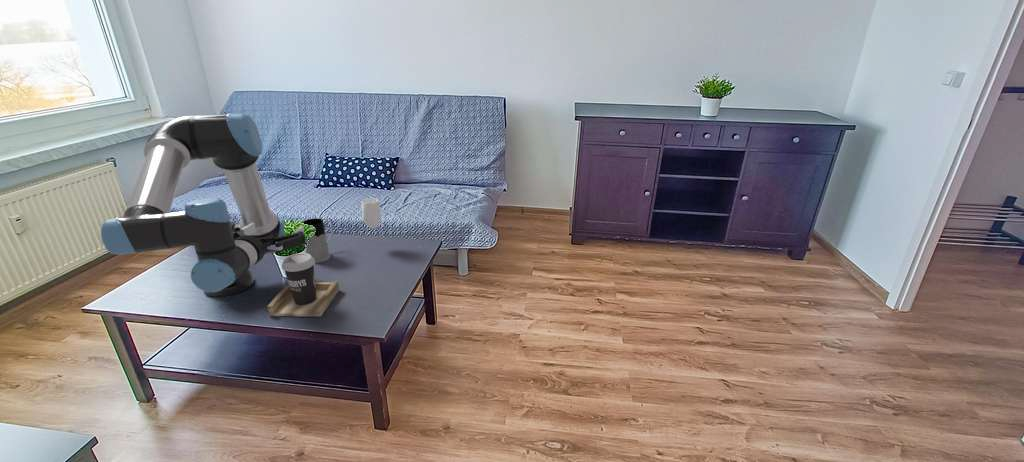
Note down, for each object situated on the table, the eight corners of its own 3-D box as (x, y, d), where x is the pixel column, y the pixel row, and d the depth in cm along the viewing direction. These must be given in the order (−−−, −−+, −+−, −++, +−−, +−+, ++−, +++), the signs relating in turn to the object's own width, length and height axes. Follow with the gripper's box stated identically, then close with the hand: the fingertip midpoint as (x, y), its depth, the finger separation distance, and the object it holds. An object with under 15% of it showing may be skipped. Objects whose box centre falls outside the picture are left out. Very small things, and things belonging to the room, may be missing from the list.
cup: (380, 253, 184) (375, 204, 176) (363, 252, 185) (357, 203, 177) (387, 245, 191) (382, 198, 183) (371, 244, 192) (365, 197, 183)
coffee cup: (289, 295, 152) (280, 254, 146) (320, 289, 156) (313, 249, 150) (289, 310, 144) (280, 267, 138) (322, 303, 148) (314, 262, 142)
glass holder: (301, 260, 178) (294, 224, 172) (327, 246, 190) (322, 212, 184) (319, 264, 175) (312, 228, 169) (344, 249, 187) (339, 215, 181)
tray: (269, 315, 143) (267, 306, 142) (292, 289, 158) (290, 280, 156) (320, 316, 143) (318, 307, 141) (339, 290, 157) (337, 281, 156)
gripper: (189, 265, 112) (233, 238, 132) (296, 271, 114) (323, 243, 134) (186, 236, 110) (231, 213, 130) (294, 242, 112) (322, 219, 132)
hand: (278, 228), depth 132 cm, fingers open, 13 cm apart
